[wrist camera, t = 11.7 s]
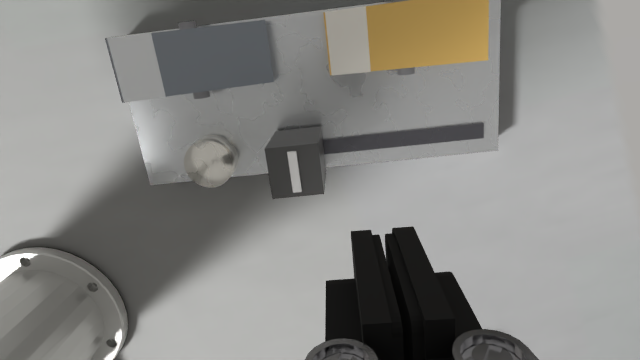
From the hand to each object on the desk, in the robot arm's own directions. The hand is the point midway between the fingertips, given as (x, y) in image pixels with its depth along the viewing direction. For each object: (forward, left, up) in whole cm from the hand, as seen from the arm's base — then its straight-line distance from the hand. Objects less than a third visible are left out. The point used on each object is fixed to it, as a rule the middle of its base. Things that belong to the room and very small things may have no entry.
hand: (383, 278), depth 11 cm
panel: (+3, +3, -20) cm, 20 cm away
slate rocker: (+6, +9, -16) cm, 19 cm away
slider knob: (-1, +4, -17) cm, 18 cm away
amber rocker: (+6, -3, -16) cm, 17 cm away
